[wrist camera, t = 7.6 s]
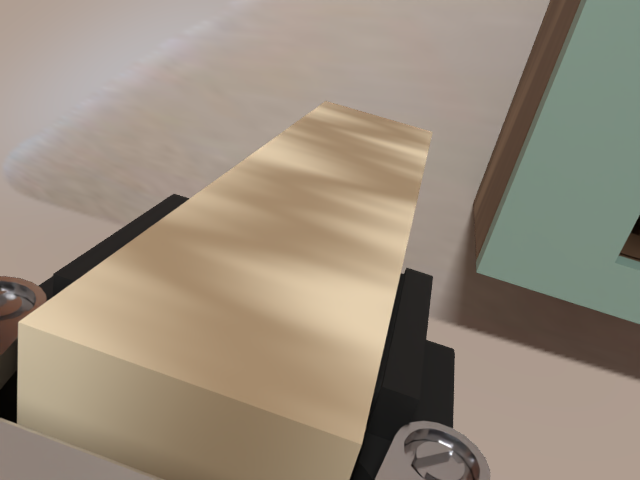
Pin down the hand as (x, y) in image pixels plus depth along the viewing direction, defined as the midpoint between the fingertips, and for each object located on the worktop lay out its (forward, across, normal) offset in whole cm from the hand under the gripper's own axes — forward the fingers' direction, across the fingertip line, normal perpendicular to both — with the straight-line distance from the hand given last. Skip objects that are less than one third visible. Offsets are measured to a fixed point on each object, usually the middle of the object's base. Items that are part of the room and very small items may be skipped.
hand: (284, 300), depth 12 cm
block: (+11, 0, 0) cm, 11 cm away
